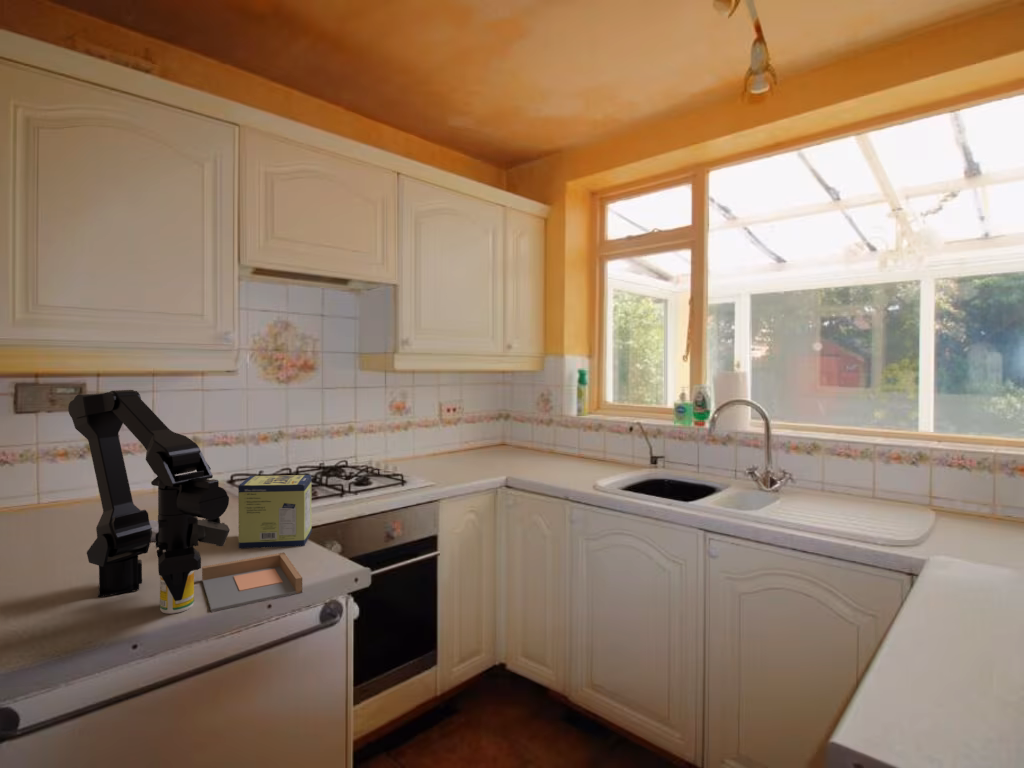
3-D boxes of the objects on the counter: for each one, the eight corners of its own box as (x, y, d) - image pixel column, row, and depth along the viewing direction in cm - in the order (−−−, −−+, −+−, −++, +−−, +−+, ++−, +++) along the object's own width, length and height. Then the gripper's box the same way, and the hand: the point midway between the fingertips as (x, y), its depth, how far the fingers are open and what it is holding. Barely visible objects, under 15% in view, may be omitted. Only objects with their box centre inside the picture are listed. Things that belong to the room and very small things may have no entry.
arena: (211, 611, 101) (211, 595, 101) (202, 580, 114) (202, 566, 114) (302, 592, 110) (302, 577, 110) (284, 565, 123) (284, 552, 123)
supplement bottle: (154, 614, 99) (153, 562, 99) (169, 601, 104) (169, 551, 104) (185, 614, 100) (185, 562, 99) (199, 600, 105) (199, 551, 104)
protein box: (249, 534, 143) (249, 475, 142) (312, 532, 146) (312, 474, 145) (236, 549, 132) (236, 485, 131) (305, 546, 135) (305, 483, 134)
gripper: (233, 518, 98) (233, 603, 99) (219, 494, 113) (219, 568, 114) (158, 527, 92) (159, 619, 93) (155, 501, 107) (155, 579, 108)
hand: (177, 594), depth 102 cm, fingers closed on supplement bottle, 5 cm apart
